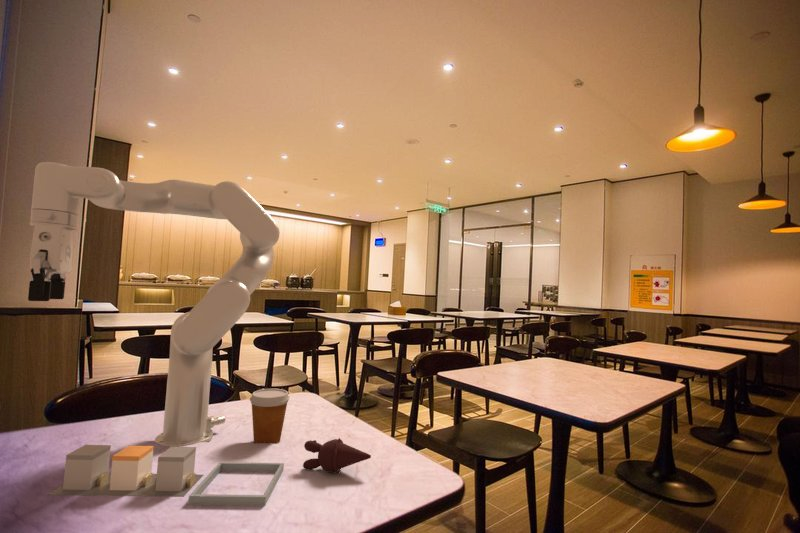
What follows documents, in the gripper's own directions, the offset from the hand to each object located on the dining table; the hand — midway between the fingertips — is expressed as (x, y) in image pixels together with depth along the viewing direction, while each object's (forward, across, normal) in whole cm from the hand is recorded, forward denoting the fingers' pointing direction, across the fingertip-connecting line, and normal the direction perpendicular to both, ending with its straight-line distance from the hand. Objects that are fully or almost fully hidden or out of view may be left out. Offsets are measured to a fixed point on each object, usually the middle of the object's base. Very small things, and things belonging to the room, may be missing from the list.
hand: (46, 300), depth 82 cm
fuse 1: (+33, -17, -12) cm, 39 cm away
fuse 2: (+33, -24, -27) cm, 49 cm away
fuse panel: (+34, -20, -19) cm, 44 cm away
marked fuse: (+33, -20, -20) cm, 43 cm away
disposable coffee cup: (+34, -7, -46) cm, 58 cm away
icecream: (+35, -28, -57) cm, 72 cm away
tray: (+34, -29, -38) cm, 58 cm away
